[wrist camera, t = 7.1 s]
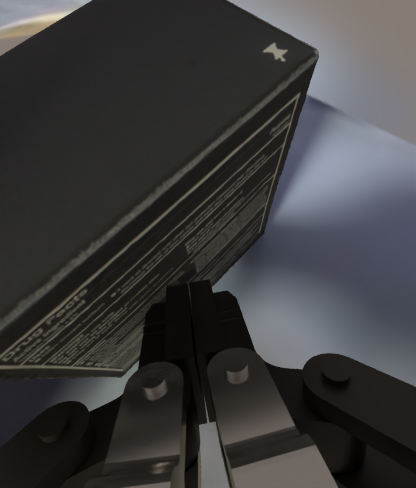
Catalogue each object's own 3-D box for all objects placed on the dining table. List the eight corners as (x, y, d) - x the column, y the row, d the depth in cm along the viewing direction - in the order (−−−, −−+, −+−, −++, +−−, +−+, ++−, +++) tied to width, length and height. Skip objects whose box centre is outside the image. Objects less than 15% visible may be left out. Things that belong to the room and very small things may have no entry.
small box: (185, 164, 19) (154, -56, 9) (268, 232, 17) (340, 48, 7) (39, 287, 16) (-228, 161, 6) (119, 384, 14) (-81, 412, 5)
